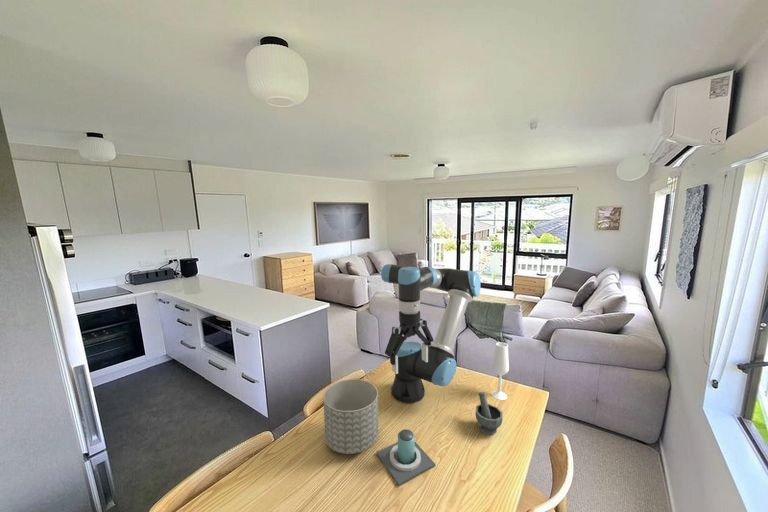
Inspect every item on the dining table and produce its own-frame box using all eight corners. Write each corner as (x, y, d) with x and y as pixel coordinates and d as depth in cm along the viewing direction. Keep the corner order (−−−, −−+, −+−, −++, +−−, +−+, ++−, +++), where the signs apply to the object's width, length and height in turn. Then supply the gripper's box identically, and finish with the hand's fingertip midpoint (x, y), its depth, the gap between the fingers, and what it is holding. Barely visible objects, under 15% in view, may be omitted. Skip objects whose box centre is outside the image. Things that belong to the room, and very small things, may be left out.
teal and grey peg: (394, 455, 98) (394, 431, 97) (408, 448, 100) (408, 426, 99) (403, 467, 93) (403, 443, 92) (417, 460, 96) (418, 436, 94)
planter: (386, 429, 111) (385, 384, 108) (365, 469, 93) (364, 417, 91) (341, 417, 118) (340, 375, 115) (314, 452, 100) (312, 403, 98)
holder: (376, 454, 99) (376, 449, 99) (410, 438, 106) (410, 433, 106) (399, 486, 87) (399, 481, 87) (435, 466, 94) (435, 461, 94)
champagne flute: (508, 393, 132) (511, 343, 129) (505, 401, 127) (508, 349, 124) (493, 389, 136) (495, 340, 133) (489, 396, 130) (492, 345, 127)
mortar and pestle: (507, 435, 107) (509, 405, 106) (484, 440, 105) (486, 409, 104) (489, 415, 118) (490, 387, 117) (468, 419, 116) (469, 391, 114)
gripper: (385, 322, 94) (387, 382, 98) (443, 306, 107) (442, 360, 111) (373, 315, 100) (375, 372, 104) (429, 301, 113) (429, 352, 117)
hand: (410, 366), depth 107 cm, fingers open, 13 cm apart
